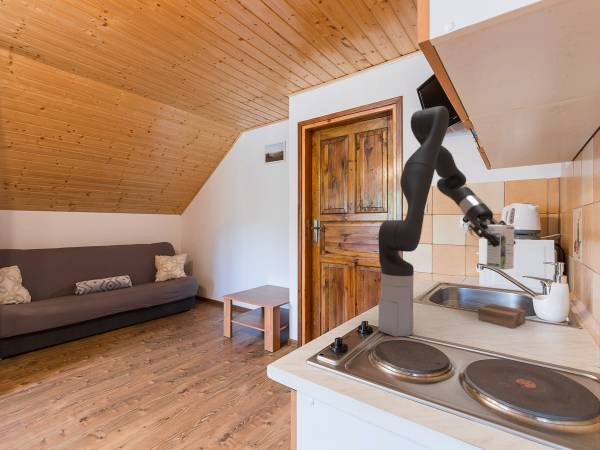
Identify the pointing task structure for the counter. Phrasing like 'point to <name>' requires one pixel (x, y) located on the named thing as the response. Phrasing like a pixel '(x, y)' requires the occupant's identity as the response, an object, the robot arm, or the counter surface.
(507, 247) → the syrup box
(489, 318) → the walnut base
